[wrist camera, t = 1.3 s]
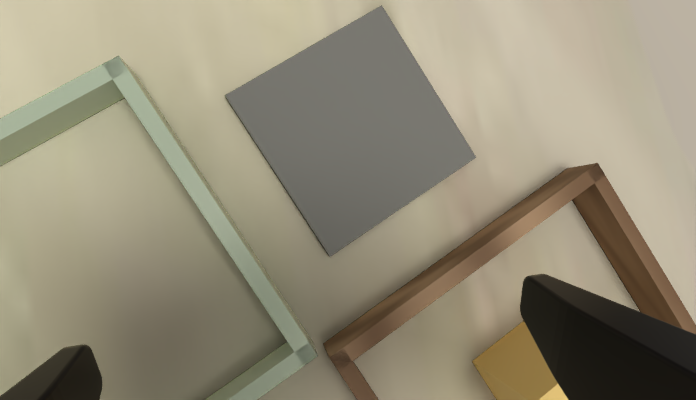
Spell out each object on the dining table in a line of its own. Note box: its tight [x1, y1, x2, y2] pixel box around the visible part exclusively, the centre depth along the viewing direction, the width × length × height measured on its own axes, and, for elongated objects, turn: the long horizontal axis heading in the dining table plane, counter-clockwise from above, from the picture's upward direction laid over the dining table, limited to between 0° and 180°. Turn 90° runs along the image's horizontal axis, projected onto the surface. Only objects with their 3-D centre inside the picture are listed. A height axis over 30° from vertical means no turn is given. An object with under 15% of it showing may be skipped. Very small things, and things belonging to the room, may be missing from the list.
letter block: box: [472, 321, 568, 400], centre depth 23 cm, size 5×5×6 cm
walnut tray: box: [323, 163, 696, 400], centre depth 24 cm, size 18×17×2 cm
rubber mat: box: [225, 5, 476, 256], centre depth 24 cm, size 10×10×1 cm
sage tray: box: [0, 56, 318, 400], centre depth 20 cm, size 18×17×2 cm
